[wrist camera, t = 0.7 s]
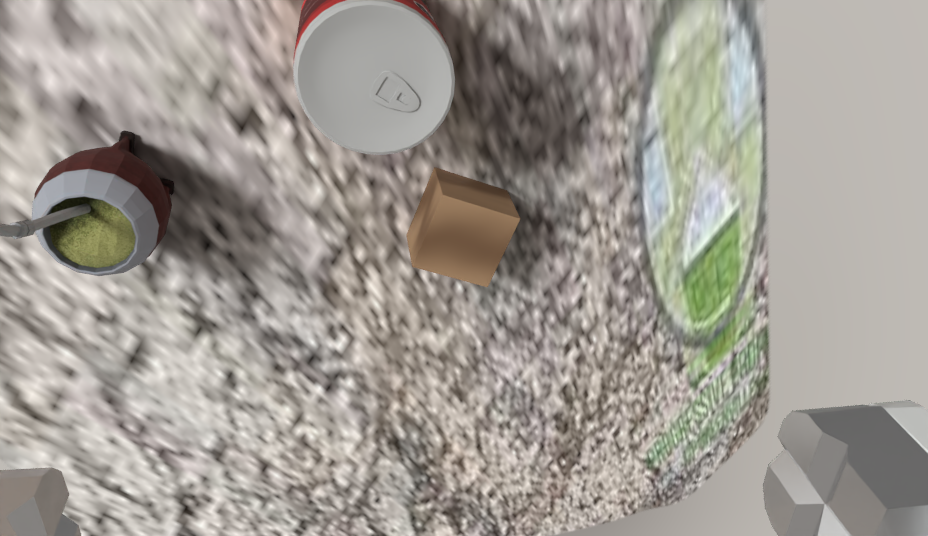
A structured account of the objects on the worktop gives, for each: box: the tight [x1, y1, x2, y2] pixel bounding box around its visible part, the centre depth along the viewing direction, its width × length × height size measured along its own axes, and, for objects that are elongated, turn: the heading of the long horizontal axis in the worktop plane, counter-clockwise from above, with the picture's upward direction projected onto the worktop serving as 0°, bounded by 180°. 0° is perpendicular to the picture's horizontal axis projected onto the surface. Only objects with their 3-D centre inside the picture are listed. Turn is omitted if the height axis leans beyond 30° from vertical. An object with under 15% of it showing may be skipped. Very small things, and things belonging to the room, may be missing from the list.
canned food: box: [293, 0, 455, 155], centre depth 41 cm, size 8×8×11 cm
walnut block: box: [407, 167, 520, 287], centre depth 52 cm, size 6×6×4 cm
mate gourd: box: [0, 131, 174, 276], centre depth 42 cm, size 8×8×15 cm
